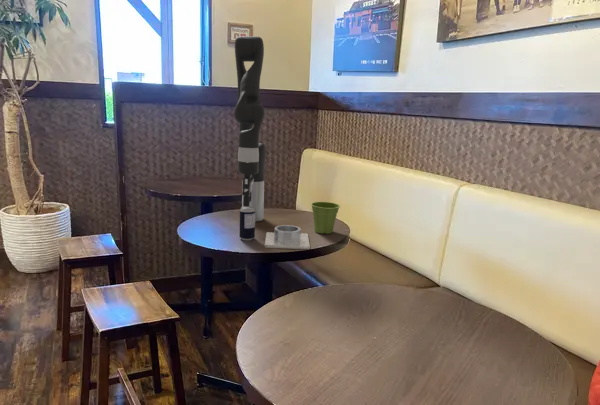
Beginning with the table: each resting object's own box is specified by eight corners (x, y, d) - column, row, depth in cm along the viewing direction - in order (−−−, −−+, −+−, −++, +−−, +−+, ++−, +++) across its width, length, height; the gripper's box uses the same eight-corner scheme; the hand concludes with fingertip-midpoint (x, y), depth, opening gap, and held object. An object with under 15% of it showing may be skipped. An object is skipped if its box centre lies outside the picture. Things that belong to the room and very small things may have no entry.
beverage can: (256, 237, 172) (256, 206, 170) (253, 241, 167) (253, 209, 164) (241, 236, 173) (241, 205, 170) (237, 240, 167) (238, 208, 165)
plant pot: (334, 237, 177) (336, 209, 174) (305, 233, 180) (306, 205, 178) (341, 230, 188) (343, 203, 185) (314, 226, 191) (315, 200, 189)
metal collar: (266, 234, 176) (266, 222, 175) (307, 236, 177) (308, 223, 176) (264, 247, 160) (265, 234, 159) (309, 249, 161) (310, 235, 160)
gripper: (239, 157, 170) (239, 199, 174) (235, 161, 157) (234, 207, 160) (259, 158, 171) (258, 200, 174) (257, 162, 157) (256, 208, 160)
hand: (247, 203), depth 167 cm, fingers open, 8 cm apart
